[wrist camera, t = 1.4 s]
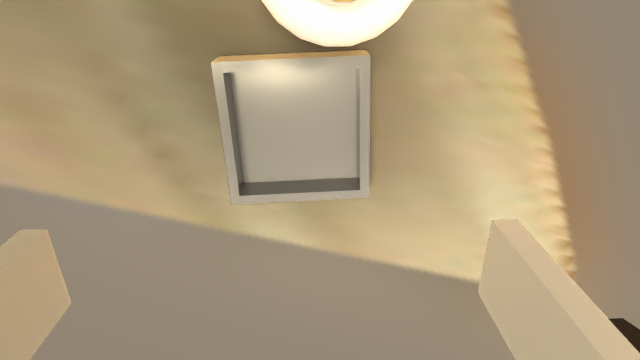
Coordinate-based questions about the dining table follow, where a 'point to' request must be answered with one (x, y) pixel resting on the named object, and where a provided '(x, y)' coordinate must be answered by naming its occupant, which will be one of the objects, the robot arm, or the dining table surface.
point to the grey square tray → (295, 125)
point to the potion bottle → (336, 19)
